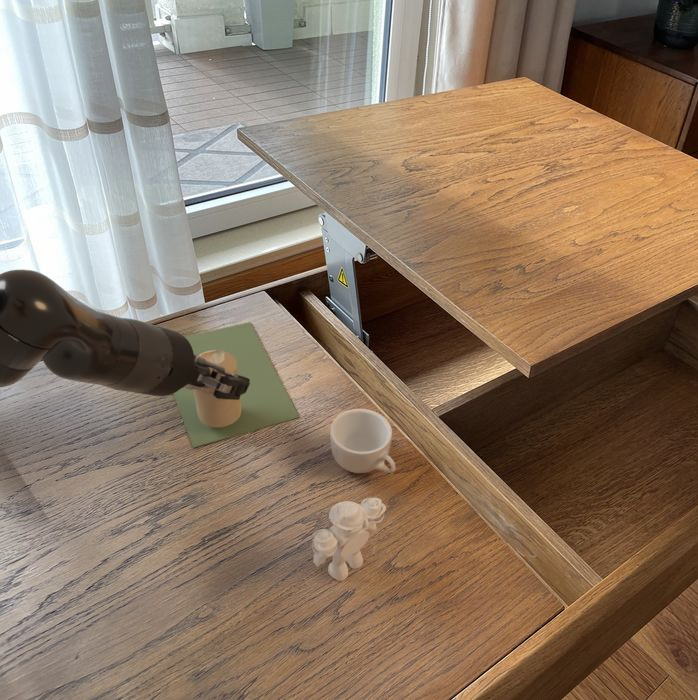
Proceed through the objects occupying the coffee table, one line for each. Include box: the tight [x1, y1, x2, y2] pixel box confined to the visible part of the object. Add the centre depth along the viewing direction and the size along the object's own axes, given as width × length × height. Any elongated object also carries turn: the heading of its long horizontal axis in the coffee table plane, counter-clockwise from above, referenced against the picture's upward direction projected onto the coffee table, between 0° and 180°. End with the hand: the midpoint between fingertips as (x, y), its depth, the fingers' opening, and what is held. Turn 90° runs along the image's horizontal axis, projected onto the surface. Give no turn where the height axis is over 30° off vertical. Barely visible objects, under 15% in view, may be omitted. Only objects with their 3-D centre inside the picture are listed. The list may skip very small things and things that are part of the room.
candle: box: [194, 350, 241, 428], centre depth 91 cm, size 6×6×10 cm
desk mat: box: [172, 321, 300, 449], centre depth 101 cm, size 14×22×1 cm, turn 30°
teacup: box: [329, 408, 396, 474], centre depth 91 cm, size 10×8×5 cm
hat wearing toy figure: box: [311, 495, 387, 582], centre depth 77 cm, size 9×4×12 cm, turn 135°
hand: (225, 376), depth 92 cm, fingers closed on candle, 5 cm apart
